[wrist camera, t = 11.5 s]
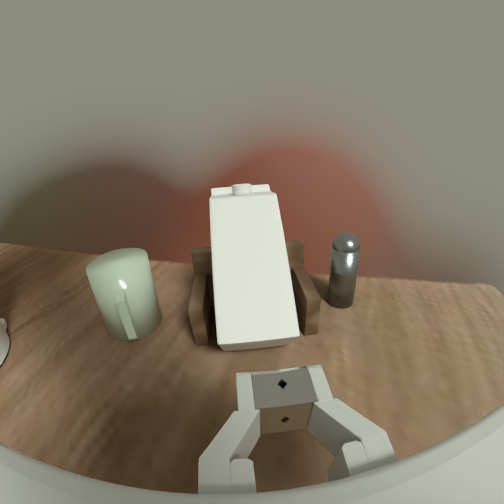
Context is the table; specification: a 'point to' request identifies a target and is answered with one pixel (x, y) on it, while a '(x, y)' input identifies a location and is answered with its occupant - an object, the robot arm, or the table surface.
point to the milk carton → (250, 270)
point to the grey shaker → (343, 270)
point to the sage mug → (125, 293)
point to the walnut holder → (204, 292)
